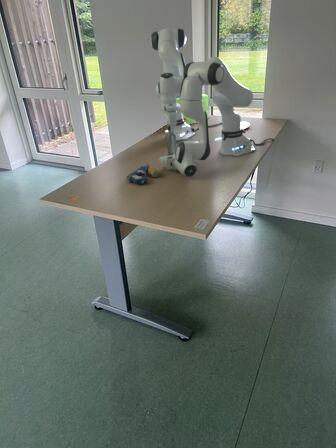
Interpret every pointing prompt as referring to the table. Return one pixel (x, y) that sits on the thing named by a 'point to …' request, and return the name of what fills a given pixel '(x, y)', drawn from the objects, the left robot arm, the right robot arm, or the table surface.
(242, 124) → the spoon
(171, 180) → the table surface
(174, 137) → the bottle
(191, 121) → the light green block
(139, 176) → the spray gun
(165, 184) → the table surface
